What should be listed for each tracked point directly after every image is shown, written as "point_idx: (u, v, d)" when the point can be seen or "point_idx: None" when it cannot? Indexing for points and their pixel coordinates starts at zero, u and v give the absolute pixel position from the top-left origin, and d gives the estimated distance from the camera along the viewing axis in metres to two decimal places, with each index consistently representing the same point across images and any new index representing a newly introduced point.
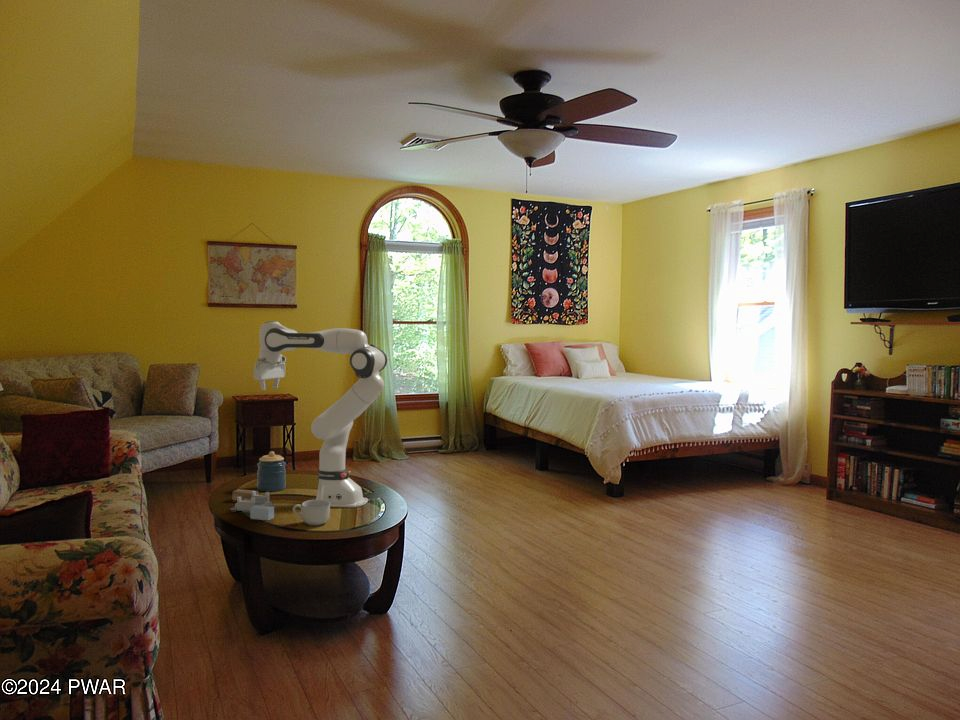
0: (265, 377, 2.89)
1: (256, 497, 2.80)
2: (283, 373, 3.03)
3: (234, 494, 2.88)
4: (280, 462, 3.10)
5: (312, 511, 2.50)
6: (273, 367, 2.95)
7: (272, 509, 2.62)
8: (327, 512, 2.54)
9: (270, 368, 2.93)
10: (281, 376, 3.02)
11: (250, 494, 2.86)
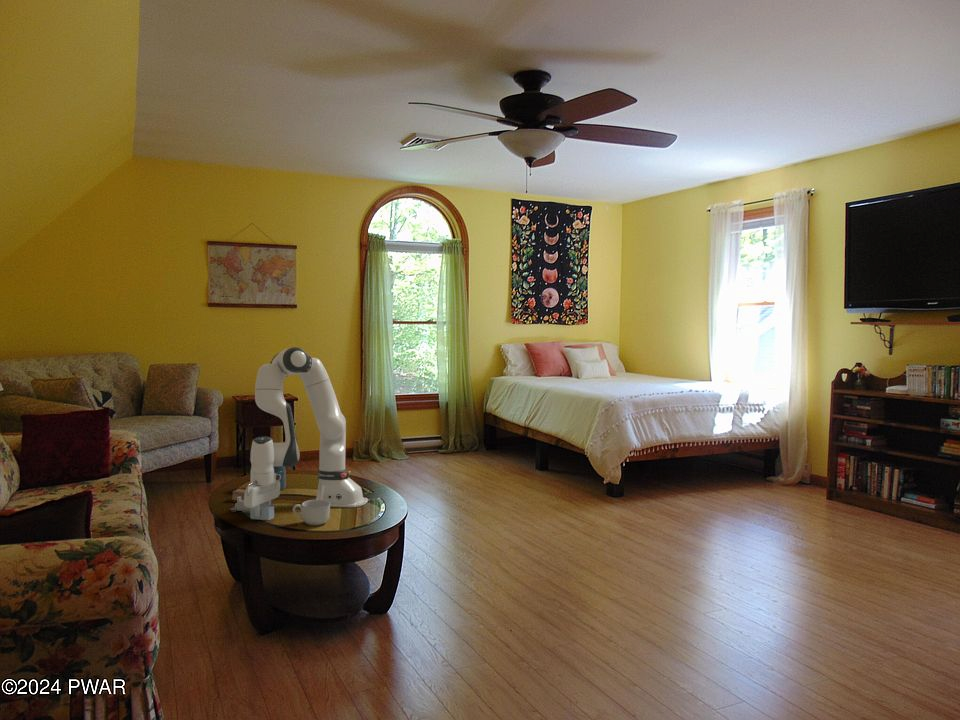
0: (257, 503, 2.55)
1: None
2: (278, 492, 2.69)
3: (234, 494, 2.88)
4: None
5: (312, 511, 2.50)
6: (266, 489, 2.62)
7: (272, 509, 2.62)
8: (327, 512, 2.54)
9: (263, 491, 2.60)
10: (275, 496, 2.68)
11: None
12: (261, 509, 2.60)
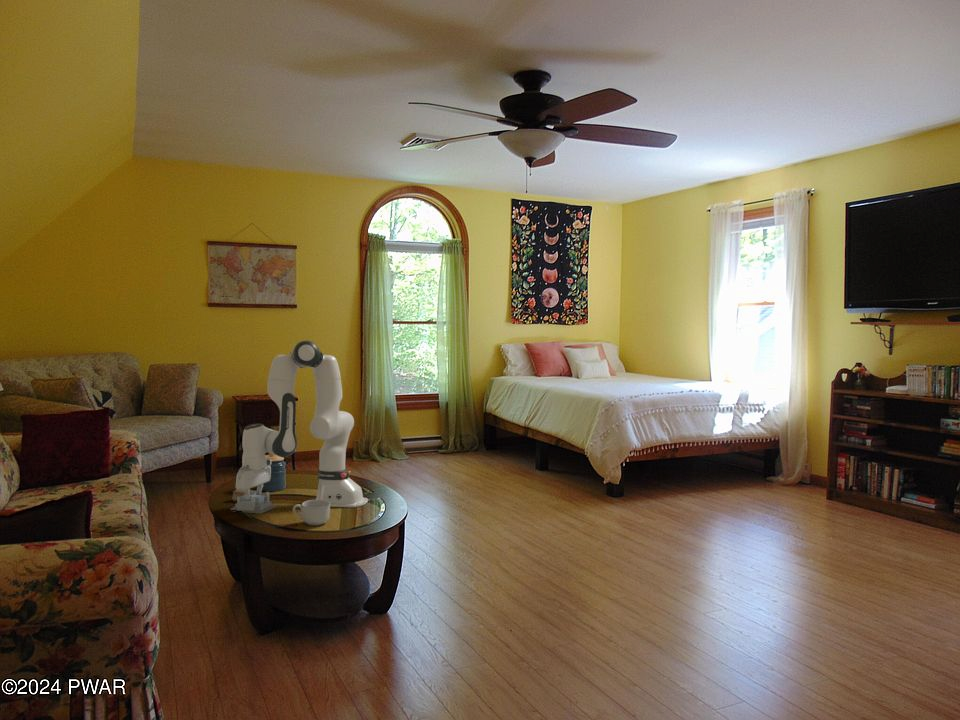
0: (248, 486, 2.69)
1: None
2: (268, 477, 2.83)
3: (234, 494, 2.88)
4: (280, 462, 3.10)
5: (312, 511, 2.50)
6: (257, 473, 2.75)
7: (262, 497, 2.75)
8: (327, 512, 2.54)
9: (254, 475, 2.73)
10: (266, 480, 2.81)
11: None
12: None
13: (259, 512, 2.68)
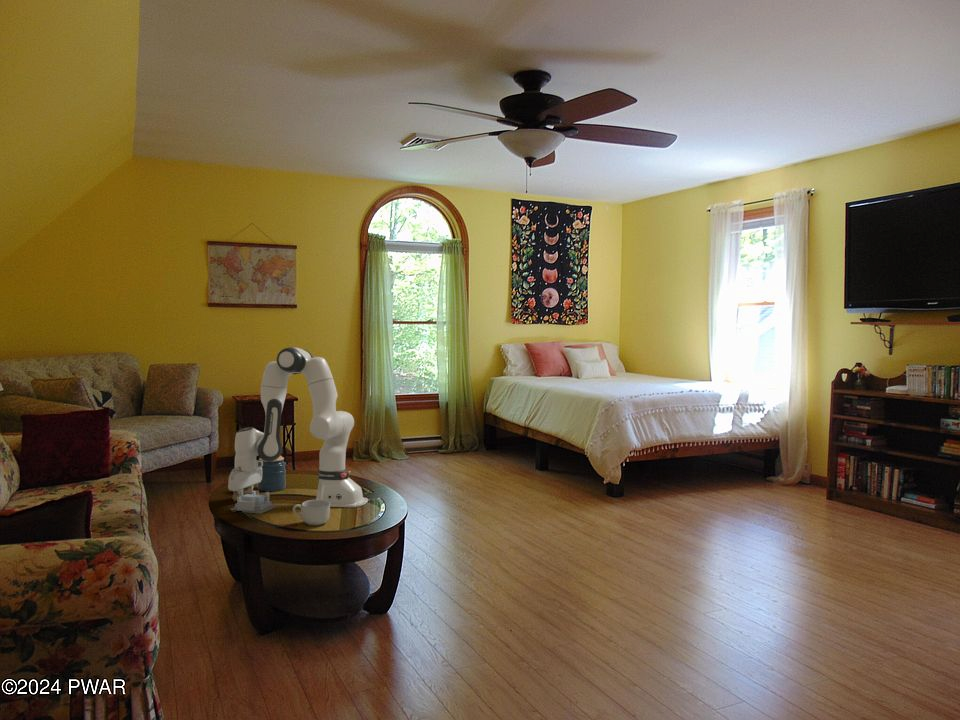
0: (240, 487, 2.82)
1: None
2: (260, 478, 2.96)
3: (235, 494, 2.88)
4: (280, 462, 3.10)
5: (312, 511, 2.50)
6: (249, 474, 2.88)
7: (262, 497, 2.75)
8: (327, 512, 2.54)
9: (246, 476, 2.86)
10: (258, 481, 2.95)
11: None
12: None
13: (259, 512, 2.68)
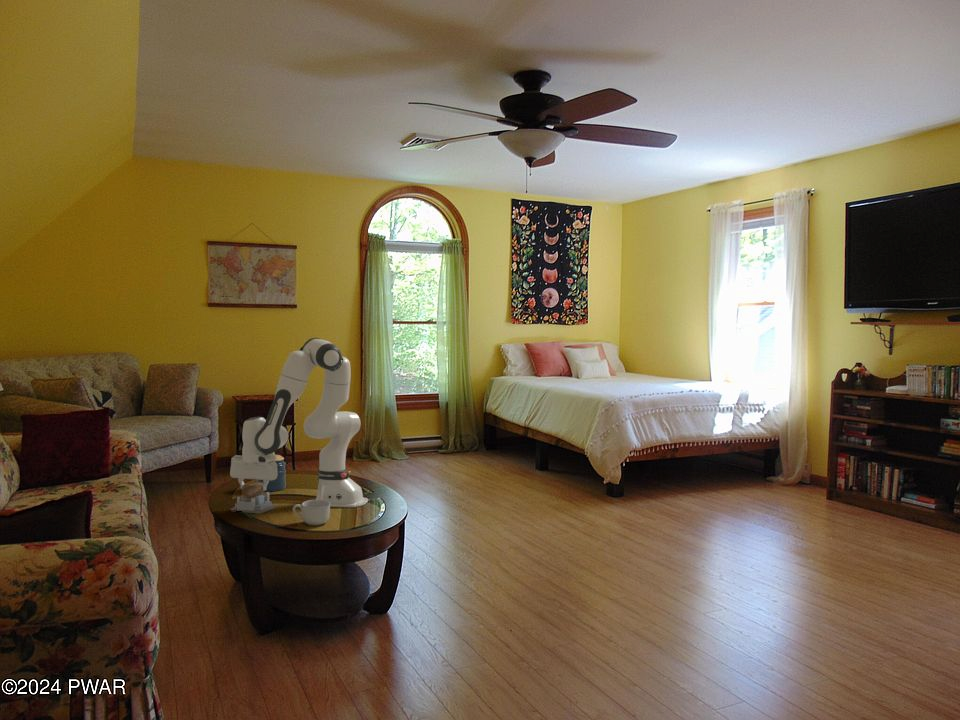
0: (237, 476, 2.75)
1: None
2: (269, 475, 2.71)
3: None
4: (280, 462, 3.10)
5: (312, 511, 2.50)
6: (252, 467, 2.73)
7: (262, 497, 2.75)
8: (327, 512, 2.54)
9: (248, 467, 2.74)
10: (266, 478, 2.72)
11: None
12: None
13: (259, 512, 2.68)
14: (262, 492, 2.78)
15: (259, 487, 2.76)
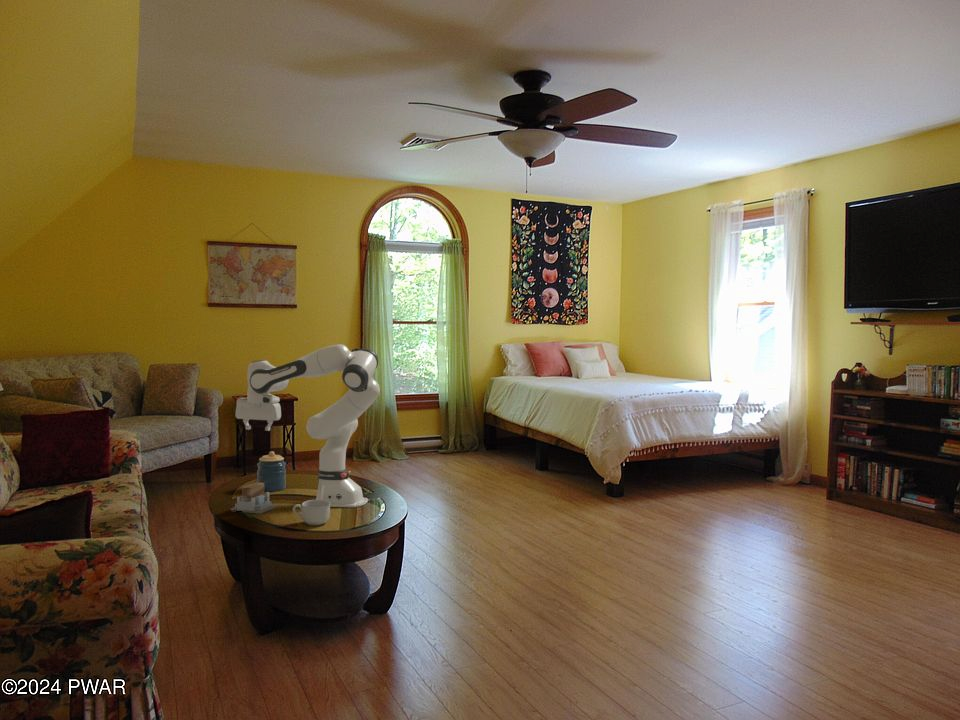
0: (242, 416, 2.86)
1: None
2: (273, 416, 2.82)
3: None
4: (280, 462, 3.10)
5: (312, 511, 2.50)
6: (257, 408, 2.84)
7: (262, 497, 2.75)
8: (327, 512, 2.54)
9: (252, 408, 2.85)
10: (270, 418, 2.83)
11: None
12: None
13: (259, 512, 2.68)
14: (262, 492, 2.78)
15: (259, 487, 2.76)
